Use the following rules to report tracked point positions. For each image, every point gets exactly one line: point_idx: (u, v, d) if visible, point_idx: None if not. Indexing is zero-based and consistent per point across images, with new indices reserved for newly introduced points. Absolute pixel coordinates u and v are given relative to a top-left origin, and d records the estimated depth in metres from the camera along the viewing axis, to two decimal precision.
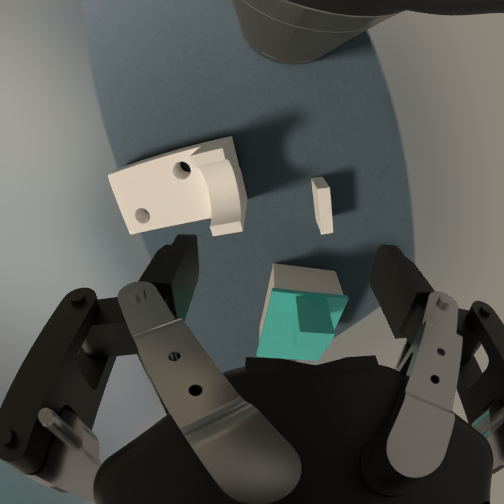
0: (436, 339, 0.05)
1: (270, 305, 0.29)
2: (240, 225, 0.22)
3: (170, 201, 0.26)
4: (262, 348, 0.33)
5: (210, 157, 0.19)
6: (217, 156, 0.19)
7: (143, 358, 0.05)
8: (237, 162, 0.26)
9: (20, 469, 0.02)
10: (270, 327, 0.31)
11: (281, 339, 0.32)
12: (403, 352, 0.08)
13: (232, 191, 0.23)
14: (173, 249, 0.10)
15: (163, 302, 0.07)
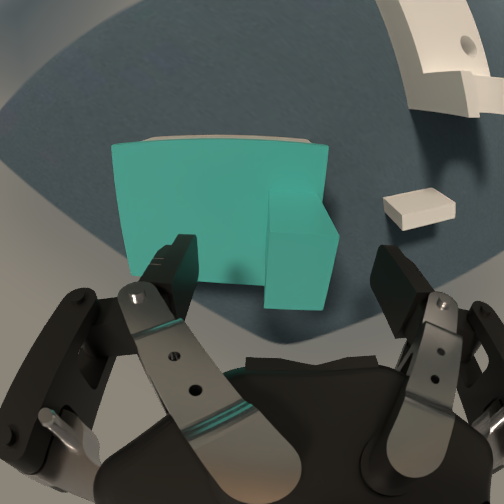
0: (436, 339, 0.05)
1: (288, 145, 0.13)
2: (475, 116, 0.09)
3: (433, 15, 0.09)
4: (140, 150, 0.13)
5: None
6: None
7: (143, 358, 0.05)
8: None
9: (20, 469, 0.02)
10: (215, 153, 0.13)
11: (179, 186, 0.14)
12: (403, 352, 0.08)
13: None
14: (173, 249, 0.10)
15: (163, 302, 0.07)
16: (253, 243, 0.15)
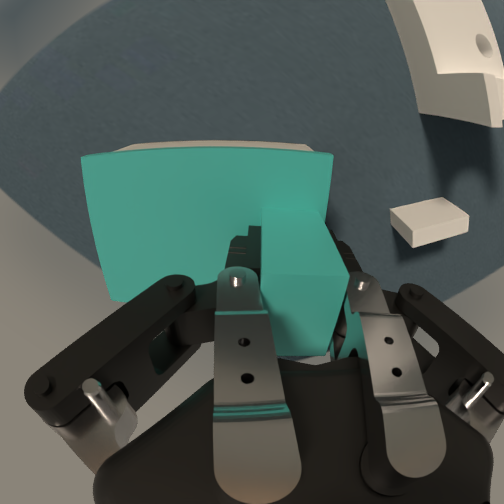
0: (378, 329, 0.06)
1: (284, 154, 0.11)
2: (498, 125, 0.07)
3: (446, 10, 0.07)
4: (112, 163, 0.11)
5: None
6: None
7: (215, 334, 0.05)
8: None
9: (41, 417, 0.04)
10: (198, 165, 0.11)
11: (157, 204, 0.12)
12: (333, 342, 0.08)
13: None
14: (251, 239, 0.11)
15: (258, 292, 0.08)
16: None
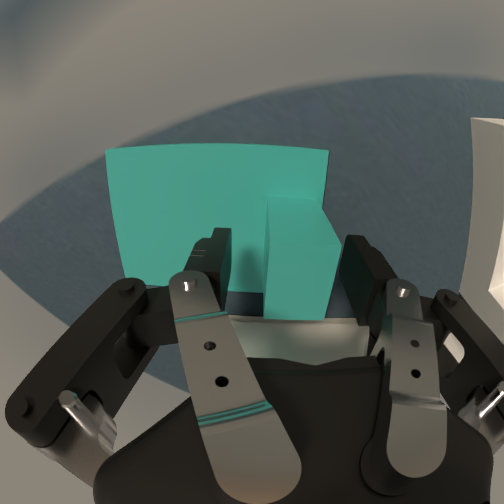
0: (407, 331, 0.05)
1: (287, 150, 0.12)
2: None
3: None
4: (134, 155, 0.13)
5: None
6: None
7: (179, 343, 0.05)
8: None
9: (28, 440, 0.03)
10: (212, 158, 0.13)
11: (175, 192, 0.14)
12: (368, 344, 0.08)
13: None
14: (213, 241, 0.10)
15: (212, 293, 0.07)
16: (251, 250, 0.15)
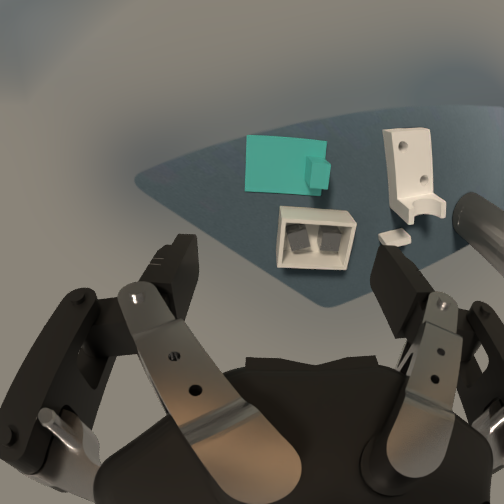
0: (436, 339, 0.05)
1: (313, 140, 0.37)
2: (411, 223, 0.35)
3: (409, 169, 0.34)
4: (259, 138, 0.37)
5: (443, 211, 0.33)
6: (442, 214, 0.33)
7: (143, 358, 0.05)
8: None
9: (20, 469, 0.02)
10: (288, 142, 0.37)
11: (274, 153, 0.38)
12: (403, 352, 0.08)
13: (416, 212, 0.36)
14: (173, 249, 0.10)
15: (163, 302, 0.07)
16: (299, 176, 0.39)
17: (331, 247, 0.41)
